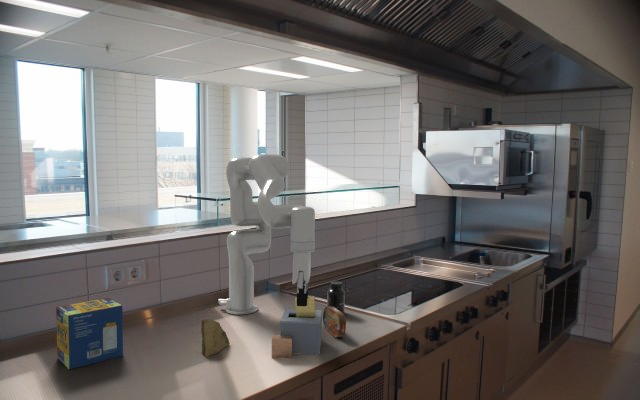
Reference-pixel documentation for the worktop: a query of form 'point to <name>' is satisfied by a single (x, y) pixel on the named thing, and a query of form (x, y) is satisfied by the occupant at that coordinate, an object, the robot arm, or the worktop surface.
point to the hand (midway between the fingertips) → (302, 304)
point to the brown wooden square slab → (282, 347)
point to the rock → (212, 337)
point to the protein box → (89, 332)
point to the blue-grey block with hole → (302, 331)
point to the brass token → (306, 308)
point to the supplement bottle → (336, 296)
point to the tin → (334, 321)
